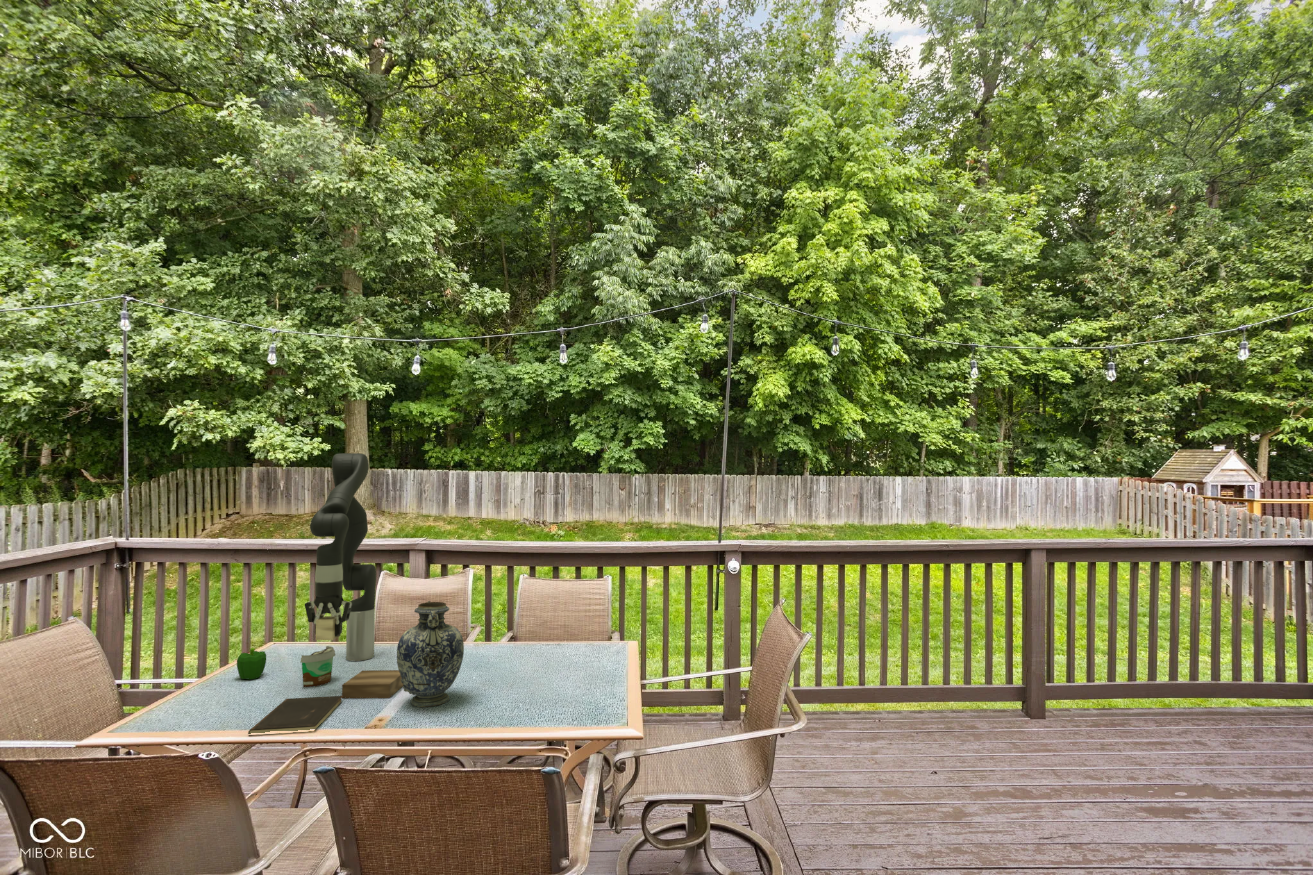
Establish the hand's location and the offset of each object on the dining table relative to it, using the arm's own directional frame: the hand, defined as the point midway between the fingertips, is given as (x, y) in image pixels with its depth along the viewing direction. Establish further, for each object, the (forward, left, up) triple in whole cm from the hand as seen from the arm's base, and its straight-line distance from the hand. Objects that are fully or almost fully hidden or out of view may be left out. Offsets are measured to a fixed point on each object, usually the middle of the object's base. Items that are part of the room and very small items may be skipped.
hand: (328, 635), depth 203 cm
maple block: (0, 0, -1) cm, 1 cm away
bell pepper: (-17, -33, -17) cm, 41 cm away
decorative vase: (+7, +33, -17) cm, 38 cm away
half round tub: (-11, -7, -17) cm, 22 cm away
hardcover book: (+19, +1, -18) cm, 27 cm away
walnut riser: (-3, +13, -17) cm, 22 cm away
